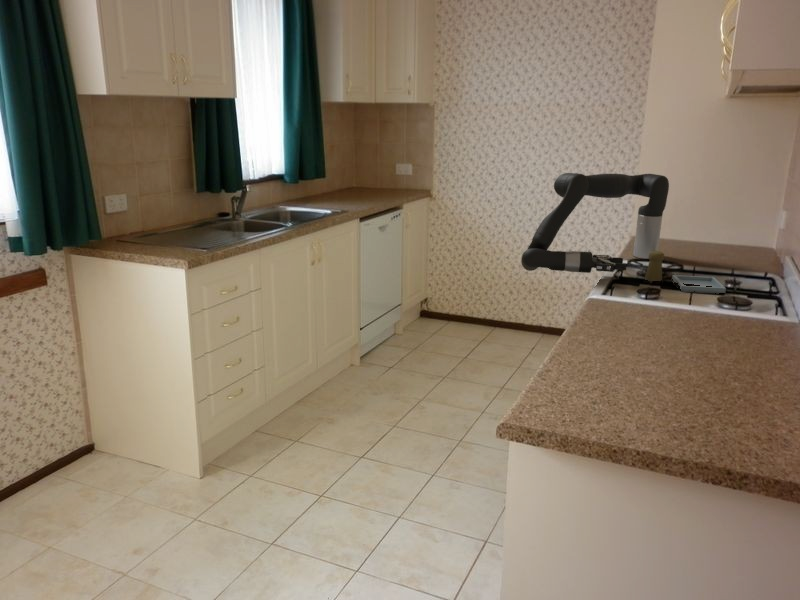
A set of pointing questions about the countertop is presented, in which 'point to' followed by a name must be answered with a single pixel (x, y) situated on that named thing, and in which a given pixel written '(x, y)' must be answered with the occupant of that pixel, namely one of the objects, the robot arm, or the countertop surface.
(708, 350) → the countertop surface
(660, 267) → the cork
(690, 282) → the tray
